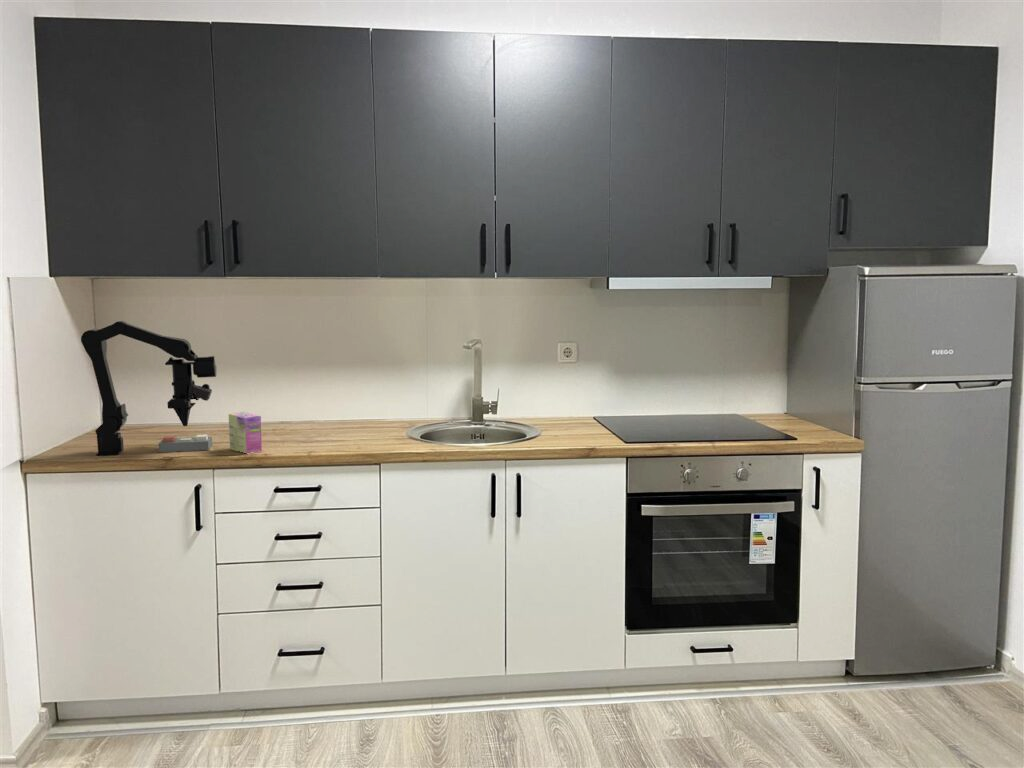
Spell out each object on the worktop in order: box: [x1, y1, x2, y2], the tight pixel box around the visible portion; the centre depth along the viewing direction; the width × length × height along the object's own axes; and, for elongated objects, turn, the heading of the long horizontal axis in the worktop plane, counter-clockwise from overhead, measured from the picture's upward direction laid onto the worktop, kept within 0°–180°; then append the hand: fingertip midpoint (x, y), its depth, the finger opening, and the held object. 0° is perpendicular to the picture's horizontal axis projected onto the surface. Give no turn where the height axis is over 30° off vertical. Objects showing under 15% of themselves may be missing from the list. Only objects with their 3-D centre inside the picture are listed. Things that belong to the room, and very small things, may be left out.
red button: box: [162, 435, 177, 442], centre depth 254 cm, size 3×3×2 cm
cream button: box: [195, 434, 209, 441], centre depth 256 cm, size 3×3×2 cm
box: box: [228, 411, 263, 454], centre depth 252 cm, size 10×6×12 cm, turn 48°
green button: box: [179, 437, 192, 441], centre depth 255 cm, size 3×3×2 cm
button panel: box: [157, 436, 213, 453], centre depth 256 cm, size 15×8×3 cm, turn 101°
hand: (185, 425), depth 255 cm, fingers closed
